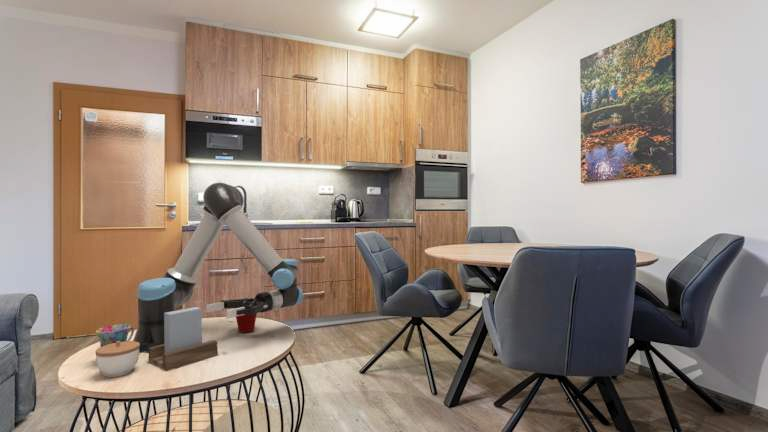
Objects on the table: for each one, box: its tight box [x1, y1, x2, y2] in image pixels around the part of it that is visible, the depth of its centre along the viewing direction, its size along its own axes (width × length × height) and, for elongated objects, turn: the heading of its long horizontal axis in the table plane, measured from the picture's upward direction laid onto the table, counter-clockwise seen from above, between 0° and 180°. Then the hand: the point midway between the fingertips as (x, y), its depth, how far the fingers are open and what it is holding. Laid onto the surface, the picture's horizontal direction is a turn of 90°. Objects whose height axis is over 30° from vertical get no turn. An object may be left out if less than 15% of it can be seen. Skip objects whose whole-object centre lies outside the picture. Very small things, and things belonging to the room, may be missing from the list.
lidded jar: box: [95, 340, 140, 378], centre depth 112 cm, size 11×11×9 cm
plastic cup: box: [233, 308, 258, 333], centre depth 153 cm, size 11×11×12 cm
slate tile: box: [164, 306, 203, 353], centre depth 123 cm, size 4×10×14 cm, turn 142°
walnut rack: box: [147, 339, 219, 372], centre depth 123 cm, size 13×16×4 cm
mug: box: [95, 323, 135, 347], centre depth 123 cm, size 12×9×11 cm
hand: (216, 311), depth 132 cm, fingers open, 13 cm apart
